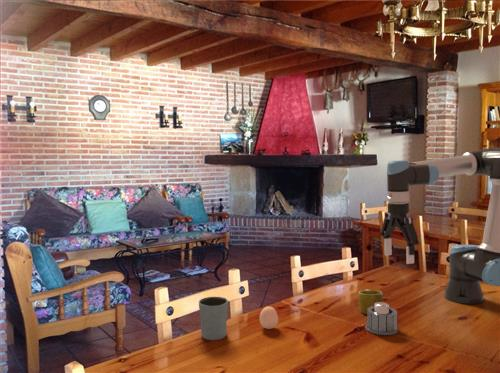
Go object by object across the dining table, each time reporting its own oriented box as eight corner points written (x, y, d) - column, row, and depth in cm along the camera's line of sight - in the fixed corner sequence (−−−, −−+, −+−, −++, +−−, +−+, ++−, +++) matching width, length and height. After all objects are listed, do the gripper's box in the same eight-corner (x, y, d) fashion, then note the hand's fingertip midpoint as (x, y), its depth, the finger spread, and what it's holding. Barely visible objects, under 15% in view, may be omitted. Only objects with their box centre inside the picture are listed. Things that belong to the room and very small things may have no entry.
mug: (388, 313, 169) (380, 287, 171) (362, 320, 172) (354, 294, 173) (387, 309, 181) (379, 284, 183) (362, 315, 183) (355, 290, 185)
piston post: (386, 322, 166) (386, 298, 165) (404, 333, 155) (404, 308, 155) (359, 325, 163) (360, 301, 162) (375, 337, 152) (376, 311, 152)
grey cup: (205, 343, 149) (205, 307, 148) (194, 332, 158) (194, 298, 157) (233, 337, 153) (233, 302, 152) (221, 327, 162) (220, 294, 161)
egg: (257, 330, 159) (256, 308, 158) (262, 323, 165) (262, 302, 164) (275, 333, 156) (275, 311, 156) (280, 326, 163) (280, 304, 162)
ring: (386, 320, 165) (386, 304, 165) (402, 331, 156) (402, 314, 155) (361, 323, 163) (362, 307, 162) (376, 334, 153) (377, 317, 153)
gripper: (370, 199, 176) (371, 253, 178) (410, 207, 153) (411, 268, 154) (387, 198, 179) (387, 251, 180) (429, 205, 155) (429, 265, 157)
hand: (398, 259), depth 167 cm, fingers open, 13 cm apart
